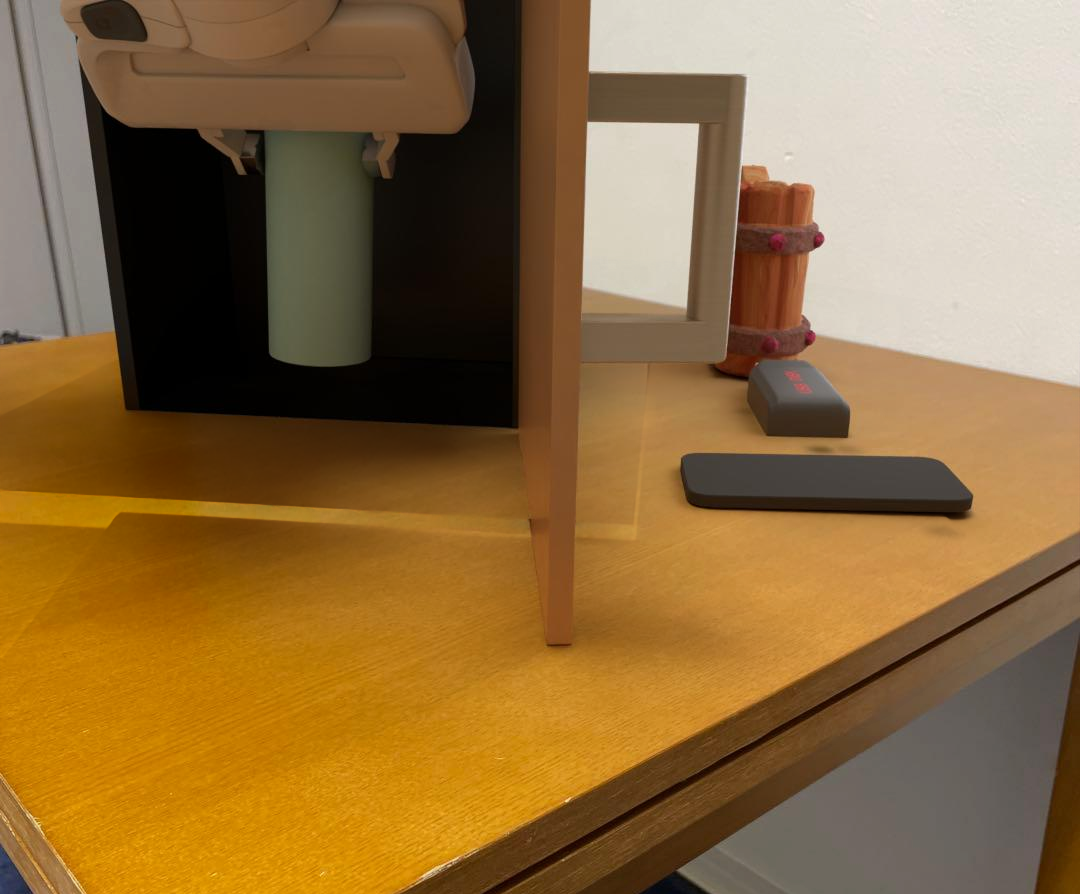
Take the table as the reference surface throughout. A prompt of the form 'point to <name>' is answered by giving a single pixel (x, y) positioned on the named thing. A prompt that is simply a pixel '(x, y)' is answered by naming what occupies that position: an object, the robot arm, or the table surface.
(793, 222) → the mug
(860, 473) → the phone
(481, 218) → the box
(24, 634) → the table surface
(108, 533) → the table surface
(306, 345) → the bottle
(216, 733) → the table surface
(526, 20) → the fridge door
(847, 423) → the grey rounded block
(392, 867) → the table surface
